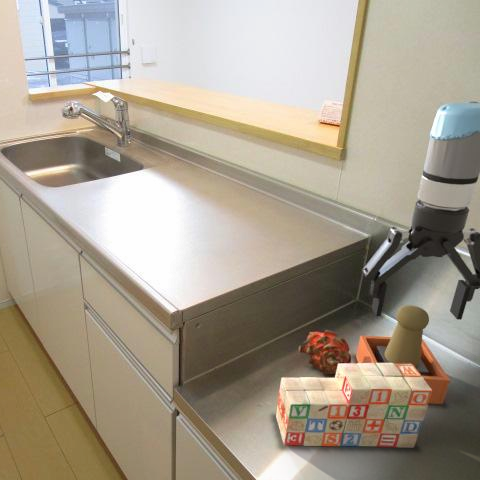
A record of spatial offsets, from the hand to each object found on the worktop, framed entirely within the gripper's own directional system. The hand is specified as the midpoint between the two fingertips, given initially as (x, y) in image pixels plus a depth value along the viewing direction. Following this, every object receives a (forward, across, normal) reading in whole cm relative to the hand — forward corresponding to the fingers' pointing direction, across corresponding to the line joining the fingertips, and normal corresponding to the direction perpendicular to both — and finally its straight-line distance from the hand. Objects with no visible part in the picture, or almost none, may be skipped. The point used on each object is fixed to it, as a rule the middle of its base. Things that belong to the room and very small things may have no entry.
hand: (415, 313), depth 82 cm
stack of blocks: (+15, +14, +14) cm, 25 cm away
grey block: (+15, 0, 0) cm, 15 cm away
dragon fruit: (+15, +14, -2) cm, 21 cm away
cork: (+10, 0, 0) cm, 10 cm away
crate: (+15, 0, 0) cm, 15 cm away
